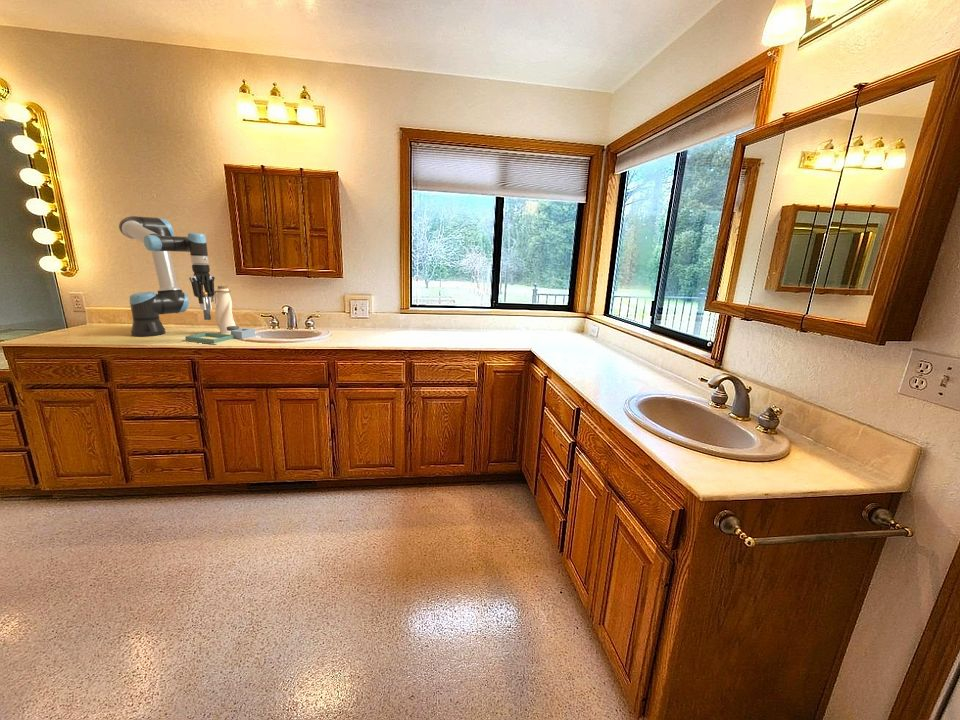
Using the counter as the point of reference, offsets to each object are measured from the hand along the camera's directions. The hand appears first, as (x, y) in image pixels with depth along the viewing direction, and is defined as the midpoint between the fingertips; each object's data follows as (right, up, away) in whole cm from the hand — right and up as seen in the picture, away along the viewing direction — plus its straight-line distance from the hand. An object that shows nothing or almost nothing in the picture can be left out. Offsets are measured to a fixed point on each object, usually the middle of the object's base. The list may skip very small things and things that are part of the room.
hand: (206, 309), depth 217 cm
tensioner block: (+9, -15, +15) cm, 23 cm away
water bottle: (-4, -12, +24) cm, 27 cm away
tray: (-1, -17, +5) cm, 18 cm away
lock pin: (0, -5, +1) cm, 6 cm away
